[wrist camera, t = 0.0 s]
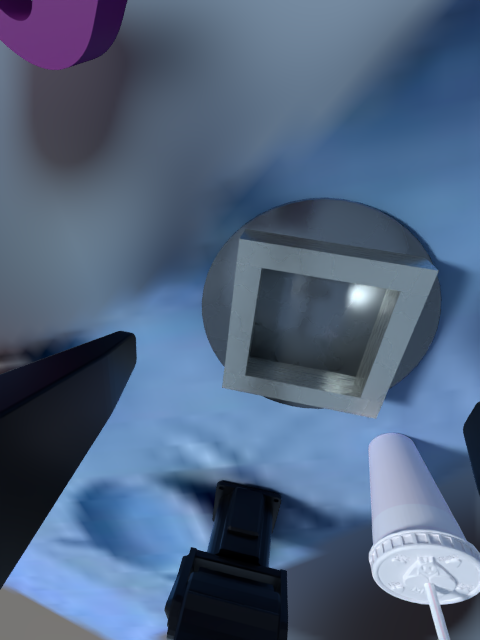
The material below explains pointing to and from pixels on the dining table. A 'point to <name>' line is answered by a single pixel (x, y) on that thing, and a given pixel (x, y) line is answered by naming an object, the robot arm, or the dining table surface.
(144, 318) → the dining table surface
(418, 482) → the smoothie
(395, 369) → the disk with square socket
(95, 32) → the mounting bracket
